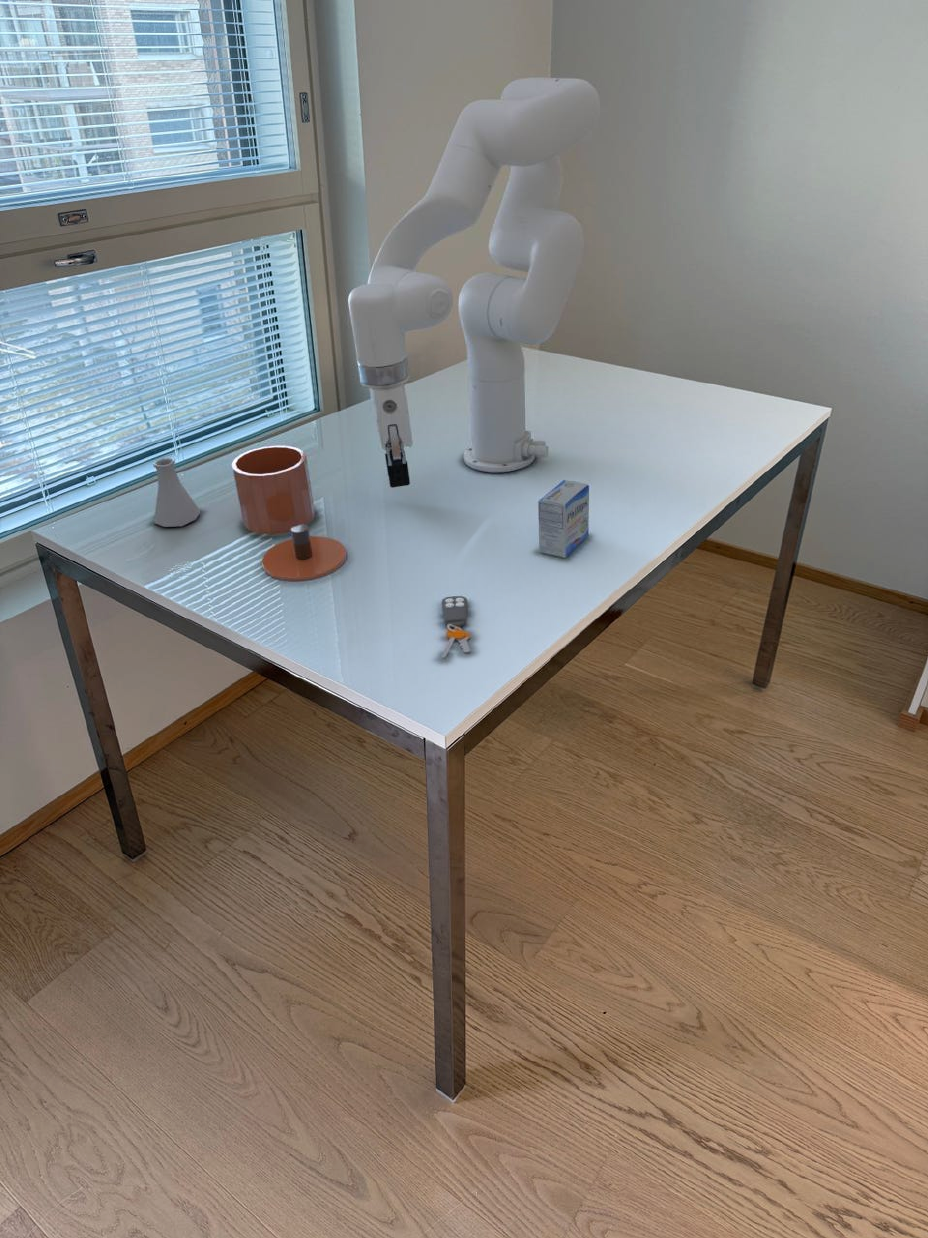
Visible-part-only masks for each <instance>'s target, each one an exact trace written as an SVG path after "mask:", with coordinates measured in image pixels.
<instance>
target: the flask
mask: <svg viewBox="0 0 928 1238" xmlns="http://www.w3.org/2000/svg"><path fill="white" fill-rule="evenodd" d="M175 463H176V460H175V458H171V457H162V458H160V459H157V460H155V461H154V462H153V464H152V466H153V468H154V469H155V470H156V474H157V495H156V503H155V510H154V516H153V524H156V525H158V526H160V527H164V528H172V527H184V526H185V525H187V524H189V523H192V522H194V521H196V520H197V519H198V517H199V515H200V513H201V510H200V508H199V507H198V506H197V504H196V502H195V501H194V500H193V498H192V496H190V494H189V493H188V491H187V490H186V488H185V487H184V485H183V484H182V482H181V481H180V478H179V476H178V474H177V471H176V468H175Z"/></svg>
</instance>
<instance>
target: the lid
mask: <svg viewBox="0 0 928 1238" xmlns="http://www.w3.org/2000/svg"><path fill="white" fill-rule="evenodd" d="M310 534H311V533H310V528H309V526H308V524H307V525H304V524H299V525H295V526H293V527H292V528H291V532H290V535H291V539H290V538H289V539H287V540H284V541H281V542H279V543H277V544H275V545H274V546H272V547H271V548H268V550H267V551H266V552H265V553H264V555H263V556H262V558H261V566H262V567H261V568H262V569H263V571H264V573H266V574H267V575H268V576H270V577H271V578H274V579H277V580H281V581H289V582H300V581H301V582H302V581H303V582H304V581H309V580H314V579H318V578H322V577H325V576H327V575H329V574H331V573H333V572H335V571H337V570H338V569H339V568H341V567H342V566H343V564H344V563H345V561H346V559H347V548H346V547H345V545H344V544H343V543H341V542H340V541H338V539H334V538H331V537H326V536H319V535H310Z"/></svg>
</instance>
